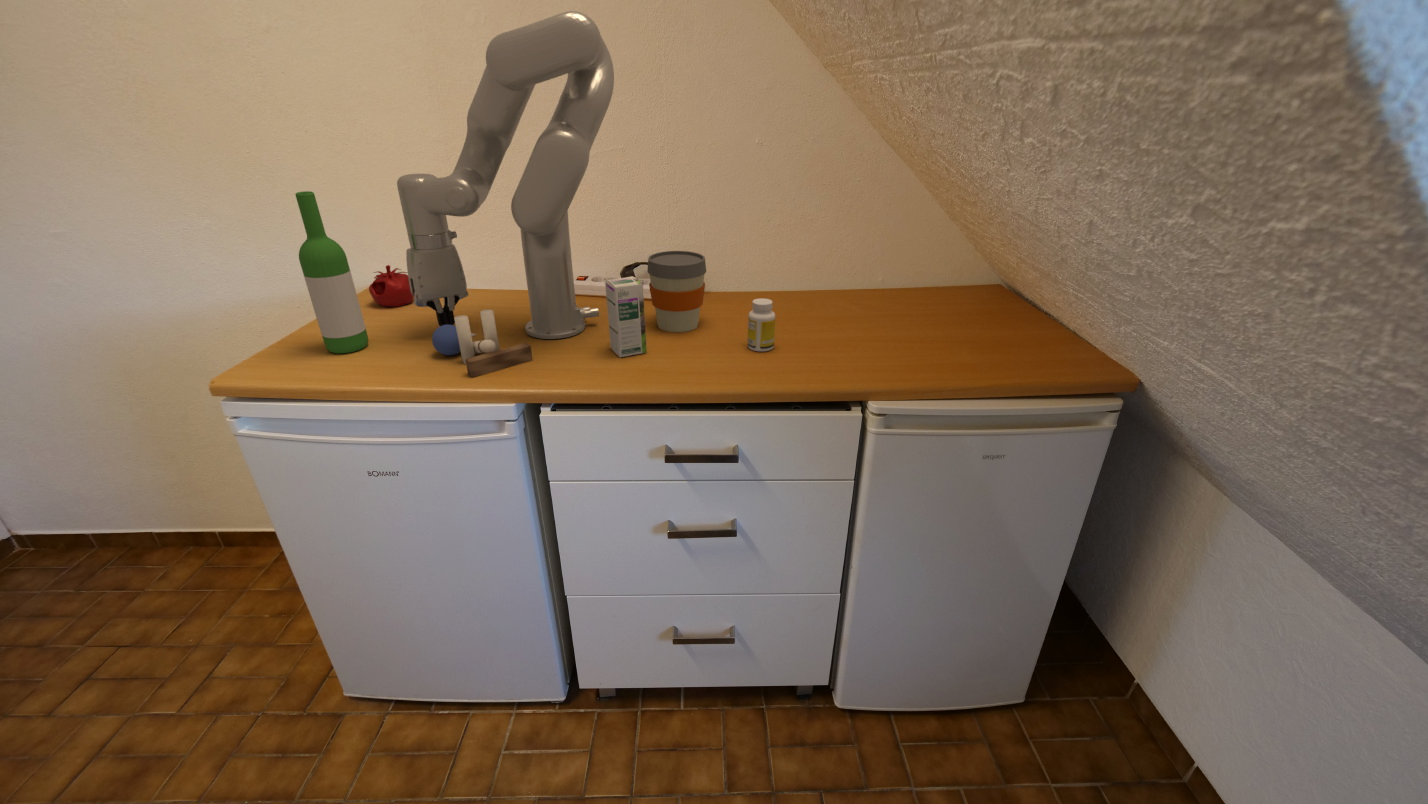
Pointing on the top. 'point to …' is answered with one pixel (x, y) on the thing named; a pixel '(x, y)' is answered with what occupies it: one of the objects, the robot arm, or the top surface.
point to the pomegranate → (391, 288)
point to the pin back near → (489, 327)
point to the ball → (446, 340)
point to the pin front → (484, 346)
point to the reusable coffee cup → (677, 288)
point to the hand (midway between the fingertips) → (447, 328)
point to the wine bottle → (329, 283)
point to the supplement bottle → (761, 325)
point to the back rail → (498, 359)
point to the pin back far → (464, 337)
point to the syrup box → (626, 316)
